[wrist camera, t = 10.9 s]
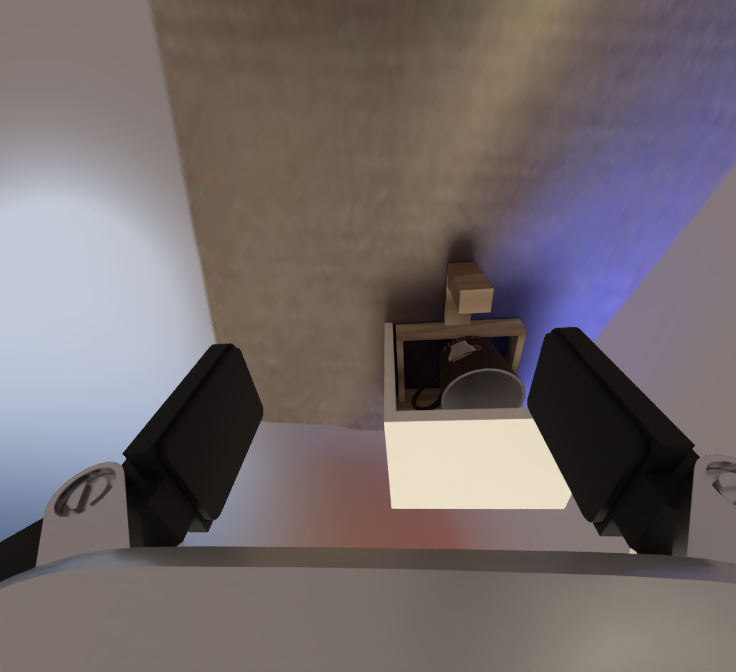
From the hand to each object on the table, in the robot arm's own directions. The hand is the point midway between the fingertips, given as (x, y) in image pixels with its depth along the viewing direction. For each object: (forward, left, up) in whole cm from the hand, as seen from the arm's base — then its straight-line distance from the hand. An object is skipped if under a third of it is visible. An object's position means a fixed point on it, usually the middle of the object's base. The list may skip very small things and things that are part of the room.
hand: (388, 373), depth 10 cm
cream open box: (+21, +8, -26) cm, 35 cm away
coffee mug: (+18, +8, -26) cm, 33 cm away
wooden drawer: (+16, +8, -26) cm, 32 cm away
